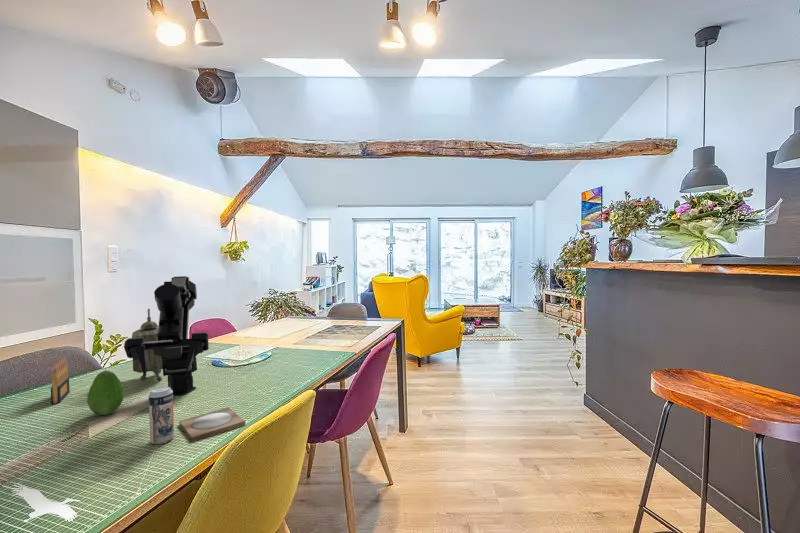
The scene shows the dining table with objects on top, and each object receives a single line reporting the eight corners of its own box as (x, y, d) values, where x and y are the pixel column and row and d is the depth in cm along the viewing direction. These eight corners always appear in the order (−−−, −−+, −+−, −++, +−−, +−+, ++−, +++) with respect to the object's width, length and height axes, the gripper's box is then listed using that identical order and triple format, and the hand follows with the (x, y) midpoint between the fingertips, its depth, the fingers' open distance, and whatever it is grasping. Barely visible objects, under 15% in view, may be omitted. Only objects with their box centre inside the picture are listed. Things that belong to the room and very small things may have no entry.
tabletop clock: (165, 381, 127) (163, 309, 126) (133, 387, 122) (130, 312, 121) (164, 371, 139) (162, 305, 138) (134, 376, 134) (132, 307, 133)
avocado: (100, 421, 96) (98, 376, 96) (81, 417, 99) (79, 373, 98) (131, 409, 103) (130, 367, 103) (113, 406, 106) (111, 365, 106)
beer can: (156, 447, 82) (154, 394, 82) (146, 442, 85) (144, 390, 84) (178, 438, 86) (176, 387, 86) (168, 433, 89) (166, 384, 88)
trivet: (179, 424, 93) (179, 420, 93) (228, 410, 102) (228, 406, 102) (192, 441, 85) (192, 436, 85) (245, 424, 93) (244, 420, 93)
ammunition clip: (59, 403, 109) (57, 363, 109) (51, 404, 108) (49, 364, 108) (69, 392, 118) (68, 355, 118) (62, 393, 117) (60, 356, 117)
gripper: (209, 335, 112) (208, 382, 102) (135, 341, 104) (127, 393, 94) (208, 313, 105) (207, 362, 95) (128, 318, 96) (118, 372, 87)
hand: (166, 373), depth 93 cm, fingers open, 9 cm apart
